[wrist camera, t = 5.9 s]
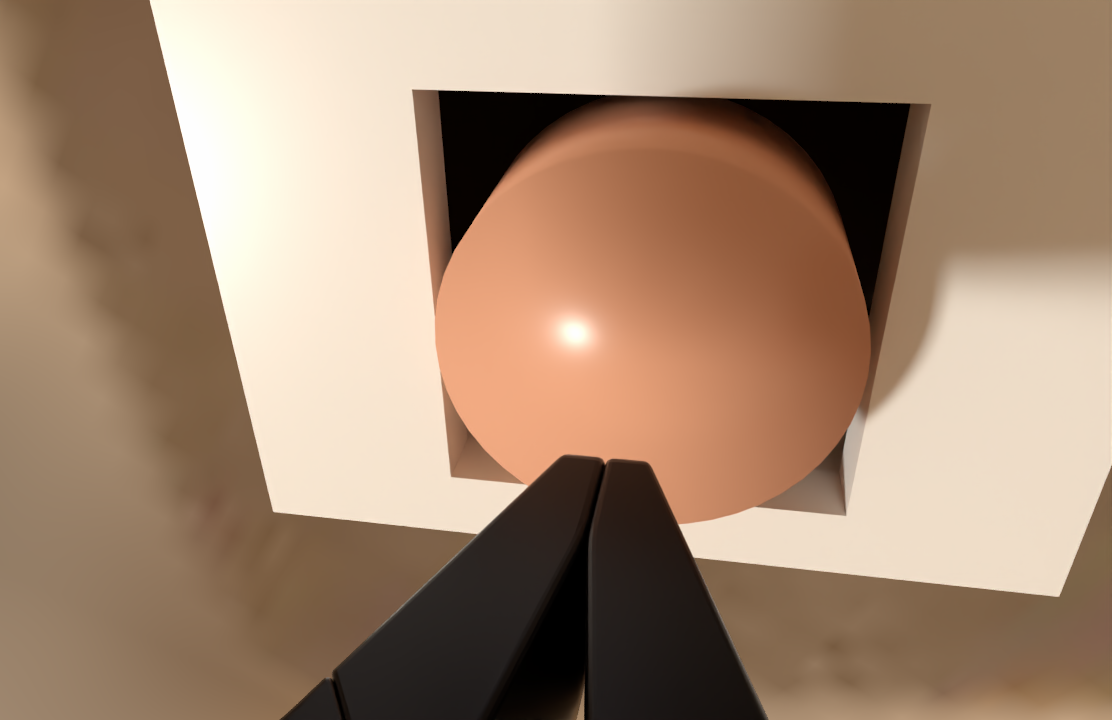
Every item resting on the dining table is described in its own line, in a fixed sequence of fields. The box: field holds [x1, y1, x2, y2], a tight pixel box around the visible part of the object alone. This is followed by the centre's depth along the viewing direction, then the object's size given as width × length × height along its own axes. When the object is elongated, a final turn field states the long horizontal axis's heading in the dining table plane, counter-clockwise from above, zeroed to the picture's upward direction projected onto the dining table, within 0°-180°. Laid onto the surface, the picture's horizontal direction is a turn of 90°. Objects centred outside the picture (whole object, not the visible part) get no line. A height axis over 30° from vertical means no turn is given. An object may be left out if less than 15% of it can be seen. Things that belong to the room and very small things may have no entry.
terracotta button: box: [435, 95, 871, 524], centre depth 12 cm, size 5×5×2 cm
